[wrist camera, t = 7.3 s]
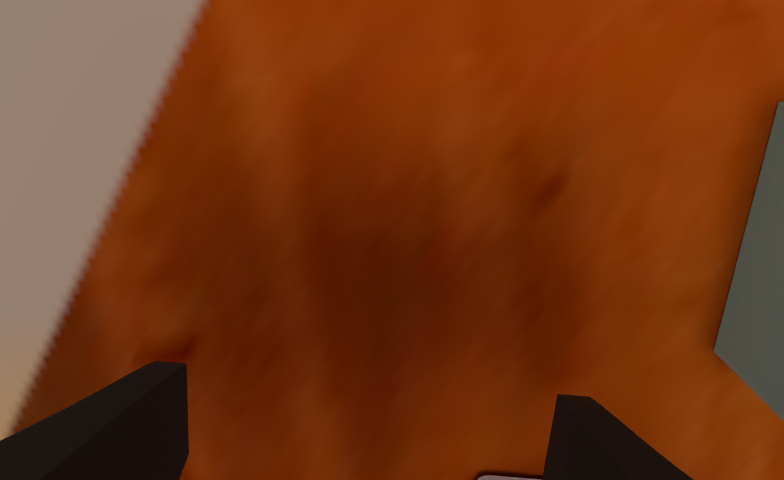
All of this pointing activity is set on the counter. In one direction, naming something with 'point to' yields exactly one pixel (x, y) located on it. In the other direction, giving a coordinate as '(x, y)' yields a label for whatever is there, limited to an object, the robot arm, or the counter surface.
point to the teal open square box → (760, 285)
